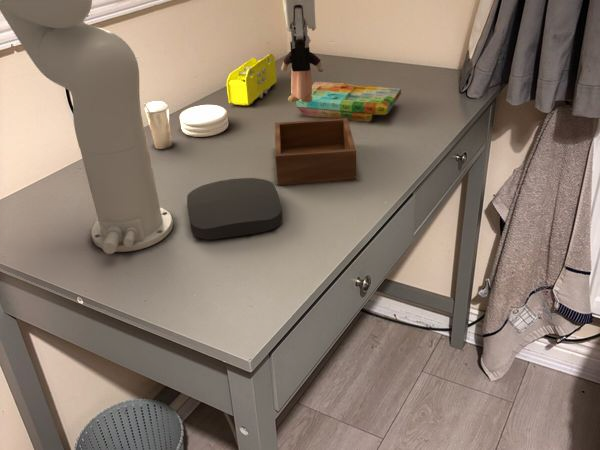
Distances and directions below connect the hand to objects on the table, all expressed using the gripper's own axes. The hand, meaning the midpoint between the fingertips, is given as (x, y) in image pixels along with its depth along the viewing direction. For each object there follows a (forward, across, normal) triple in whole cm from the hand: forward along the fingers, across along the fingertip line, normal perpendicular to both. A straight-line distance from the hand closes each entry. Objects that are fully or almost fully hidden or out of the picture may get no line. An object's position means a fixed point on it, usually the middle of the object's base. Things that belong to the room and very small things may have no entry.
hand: (300, 66), depth 113 cm
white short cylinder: (+17, +16, +21) cm, 31 cm away
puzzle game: (+17, +20, -10) cm, 28 cm away
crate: (+17, -4, -2) cm, 18 cm away
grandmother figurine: (+7, 0, 0) cm, 7 cm away
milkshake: (+17, +8, +29) cm, 34 cm away
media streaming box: (+17, -21, +12) cm, 30 cm away
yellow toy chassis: (+17, +34, +11) cm, 39 cm away
